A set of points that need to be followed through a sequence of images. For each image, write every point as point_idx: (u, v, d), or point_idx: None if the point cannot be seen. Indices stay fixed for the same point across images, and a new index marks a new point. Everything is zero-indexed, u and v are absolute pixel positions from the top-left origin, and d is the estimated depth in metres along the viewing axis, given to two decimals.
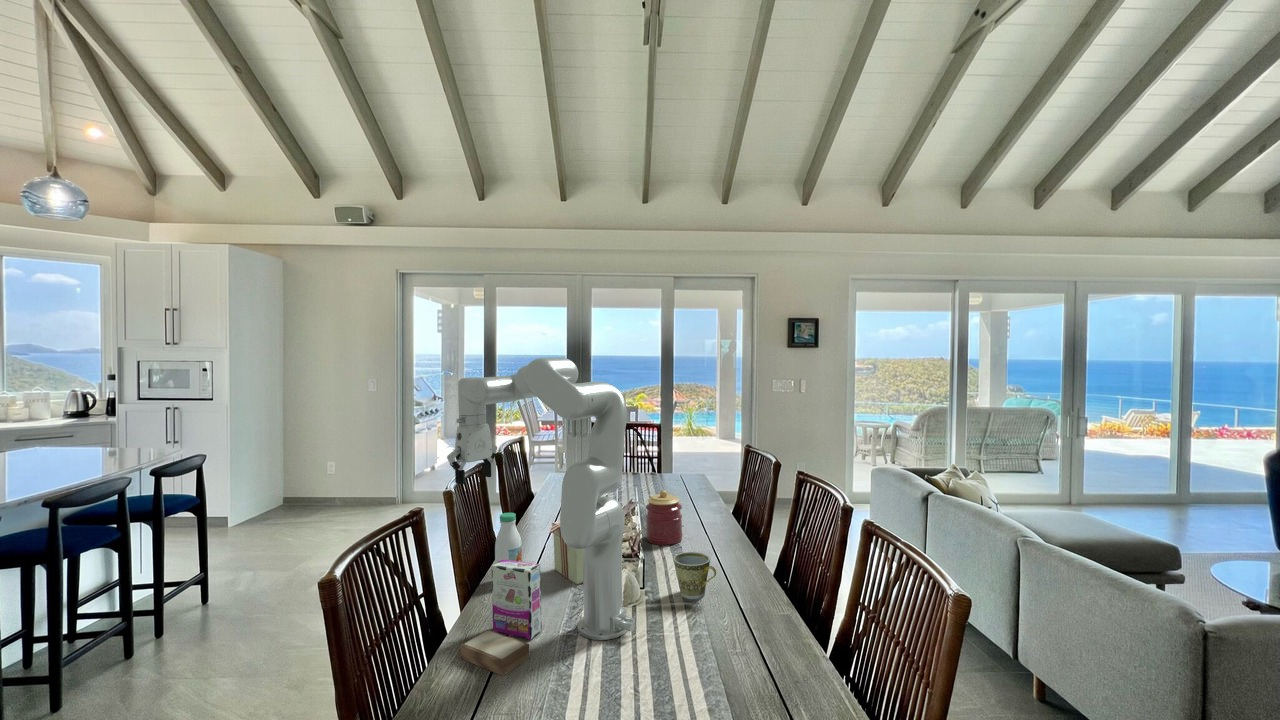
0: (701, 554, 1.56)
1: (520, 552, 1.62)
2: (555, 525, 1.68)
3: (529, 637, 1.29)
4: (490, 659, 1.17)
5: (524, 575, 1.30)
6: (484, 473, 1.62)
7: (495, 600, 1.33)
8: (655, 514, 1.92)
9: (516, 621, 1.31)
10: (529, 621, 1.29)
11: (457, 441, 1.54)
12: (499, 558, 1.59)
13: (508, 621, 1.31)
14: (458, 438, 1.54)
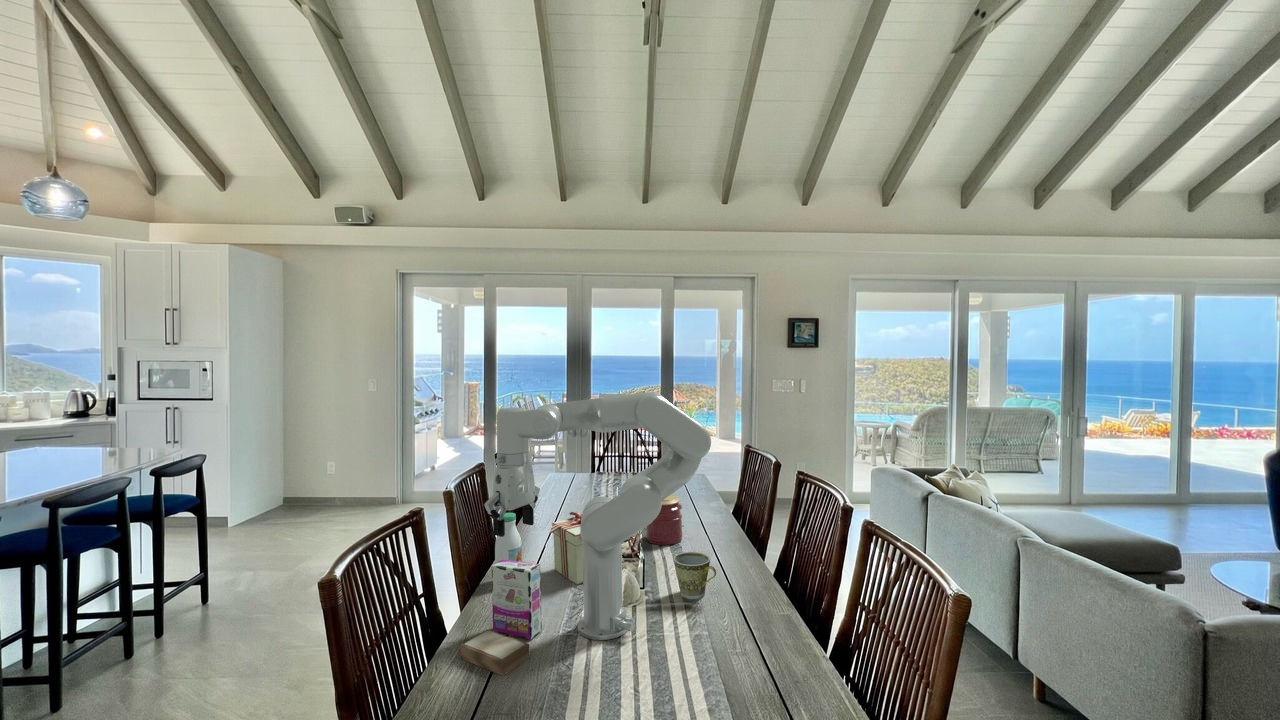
0: (701, 554, 1.56)
1: (520, 552, 1.62)
2: (555, 525, 1.68)
3: (529, 637, 1.29)
4: (490, 659, 1.17)
5: (524, 575, 1.30)
6: (525, 520, 1.37)
7: (495, 600, 1.33)
8: None
9: (516, 621, 1.31)
10: (529, 621, 1.29)
11: (496, 485, 1.29)
12: (499, 558, 1.59)
13: (508, 621, 1.31)
14: (497, 481, 1.30)
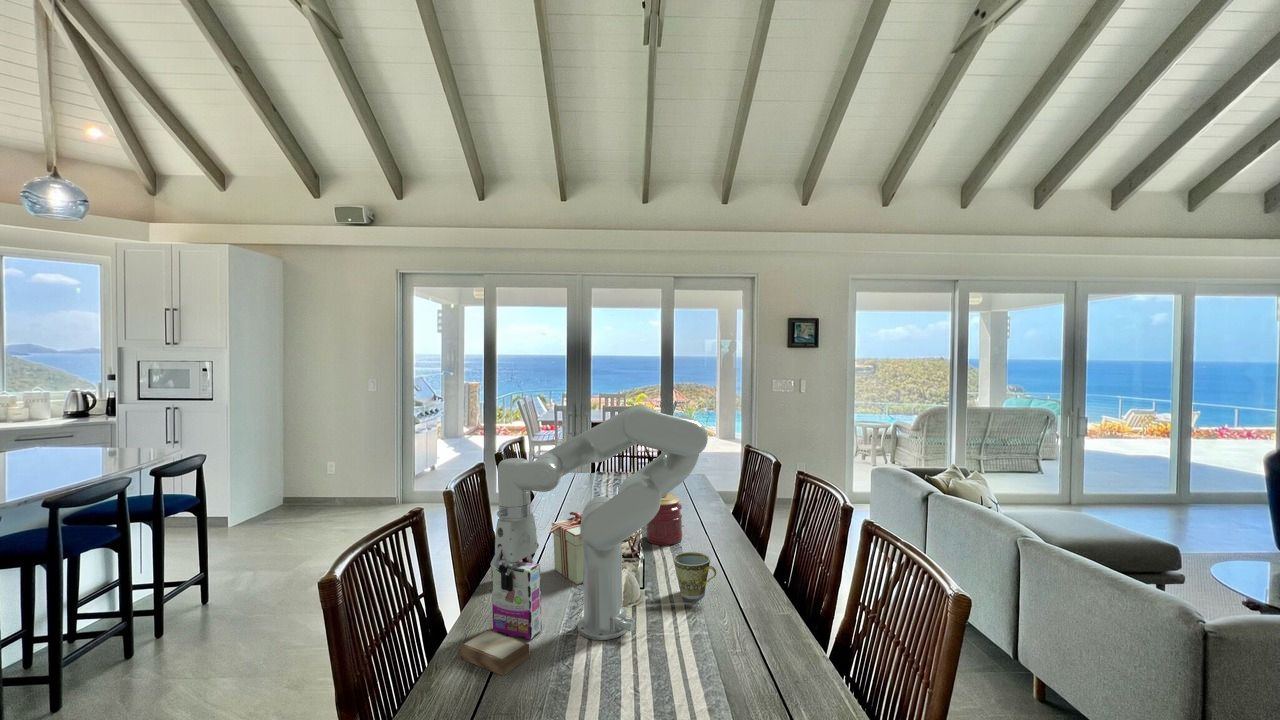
0: (701, 554, 1.56)
1: None
2: (555, 525, 1.68)
3: (529, 637, 1.29)
4: (490, 659, 1.17)
5: (523, 575, 1.30)
6: None
7: (495, 600, 1.33)
8: None
9: (516, 621, 1.31)
10: (529, 621, 1.29)
11: (498, 538, 1.29)
12: None
13: (508, 621, 1.31)
14: (499, 534, 1.30)
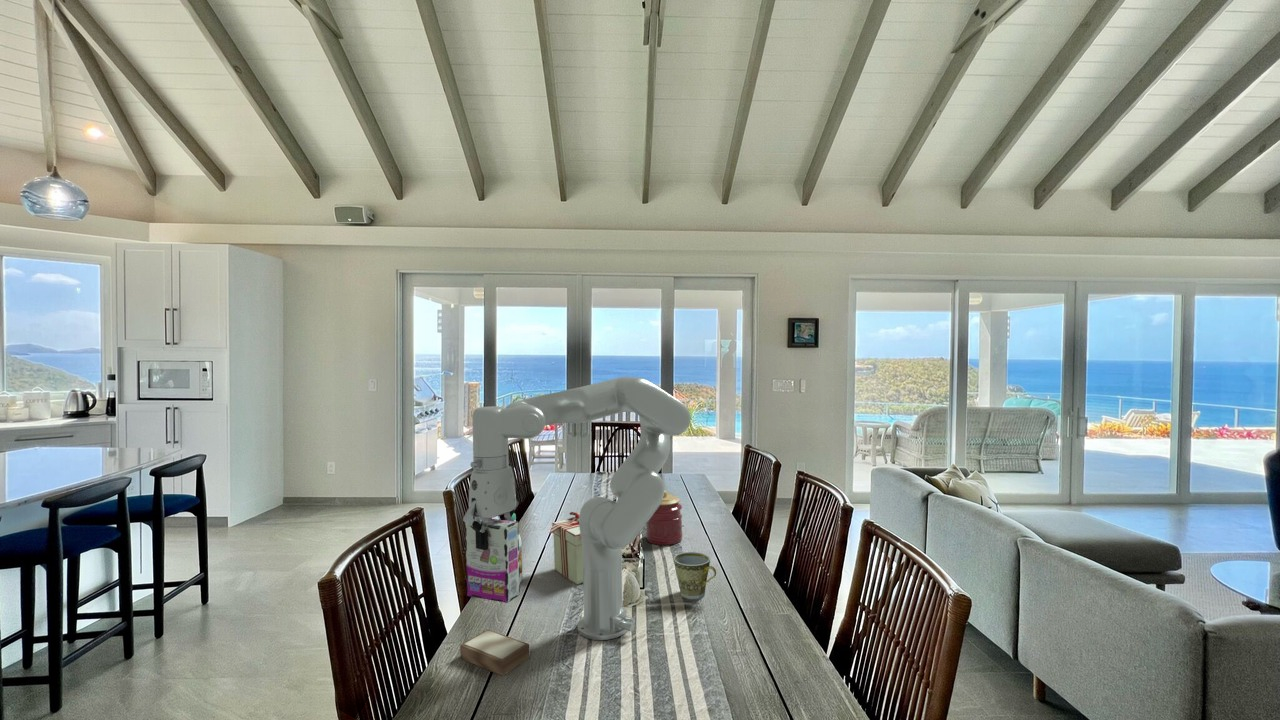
0: (701, 554, 1.56)
1: (520, 552, 1.62)
2: (555, 525, 1.68)
3: (505, 600, 1.18)
4: (490, 659, 1.17)
5: (500, 532, 1.18)
6: None
7: (469, 561, 1.22)
8: (655, 514, 1.92)
9: (491, 583, 1.19)
10: (505, 582, 1.18)
11: (471, 491, 1.18)
12: None
13: (483, 584, 1.20)
14: (473, 487, 1.18)
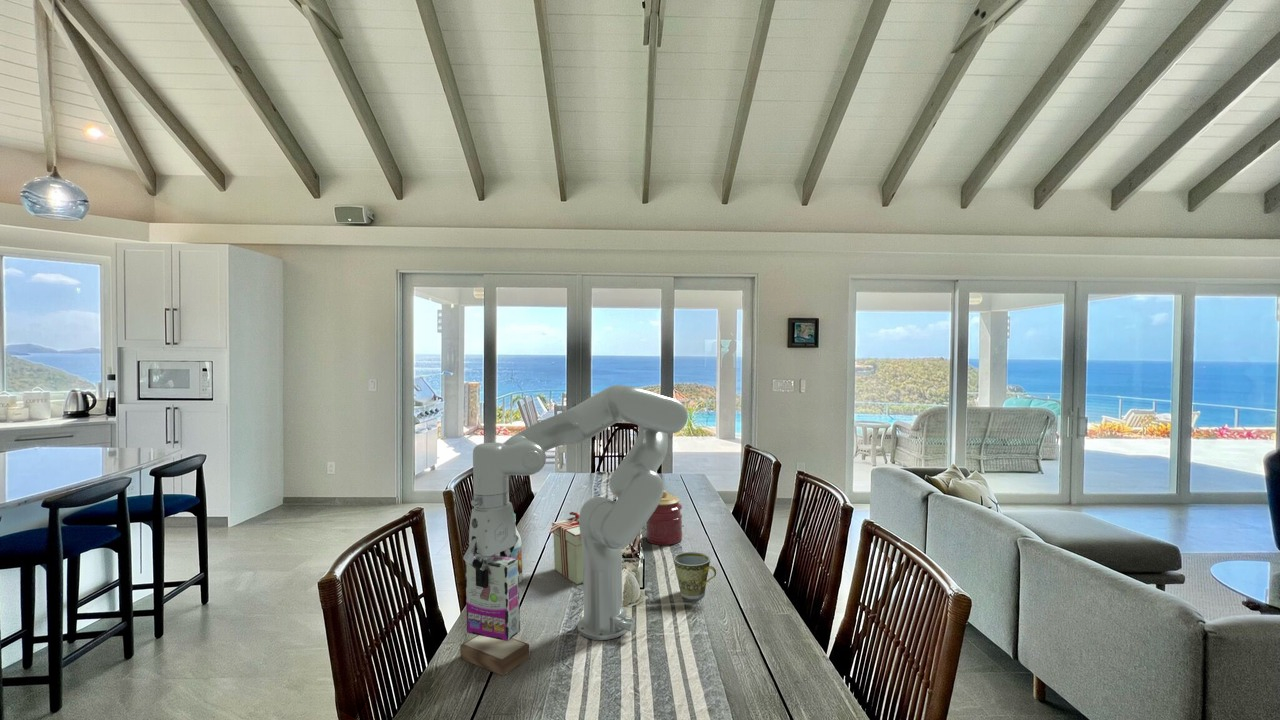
0: (701, 554, 1.56)
1: (520, 552, 1.62)
2: (555, 525, 1.68)
3: (505, 638, 1.18)
4: (490, 659, 1.17)
5: (500, 570, 1.18)
6: None
7: (469, 598, 1.21)
8: (655, 514, 1.92)
9: (491, 620, 1.19)
10: (505, 620, 1.18)
11: (472, 529, 1.18)
12: None
13: (483, 621, 1.20)
14: (473, 525, 1.18)
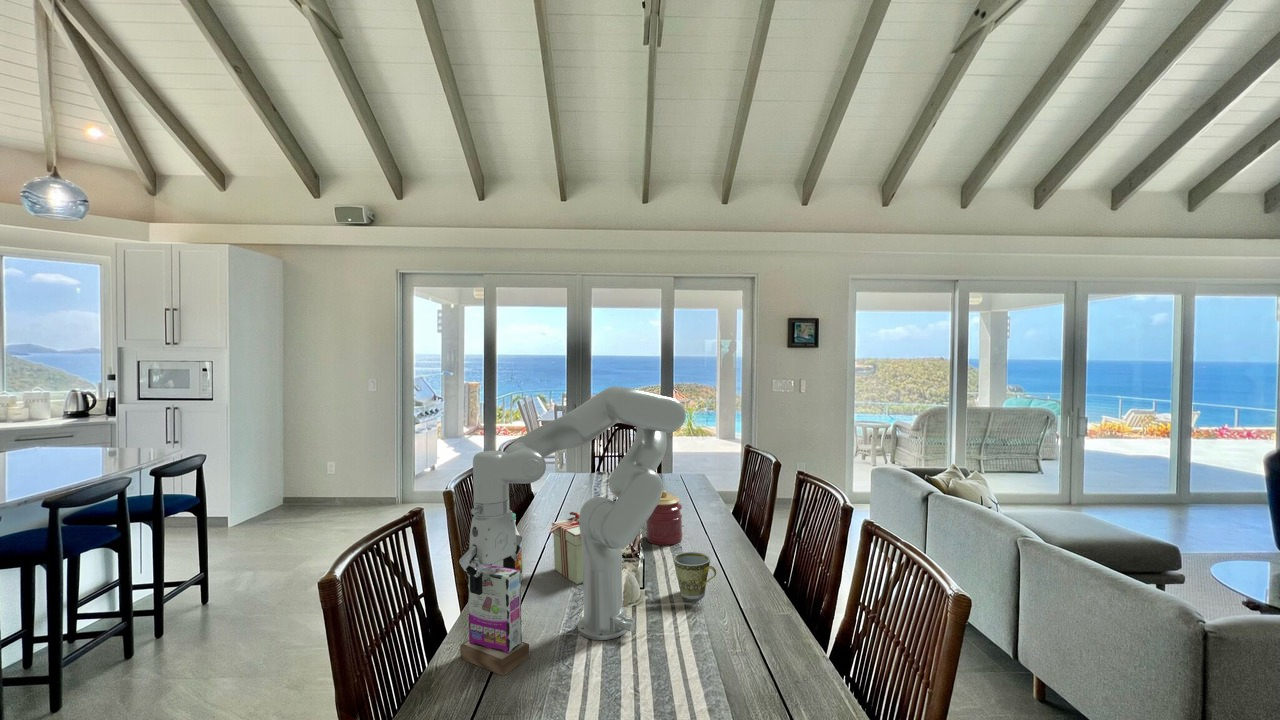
0: (701, 554, 1.56)
1: (520, 552, 1.62)
2: (555, 525, 1.68)
3: (507, 650, 1.18)
4: (490, 659, 1.17)
5: (501, 582, 1.18)
6: None
7: (471, 609, 1.22)
8: (655, 514, 1.92)
9: (493, 632, 1.19)
10: (507, 632, 1.18)
11: (472, 537, 1.18)
12: None
13: (485, 632, 1.20)
14: (473, 533, 1.18)
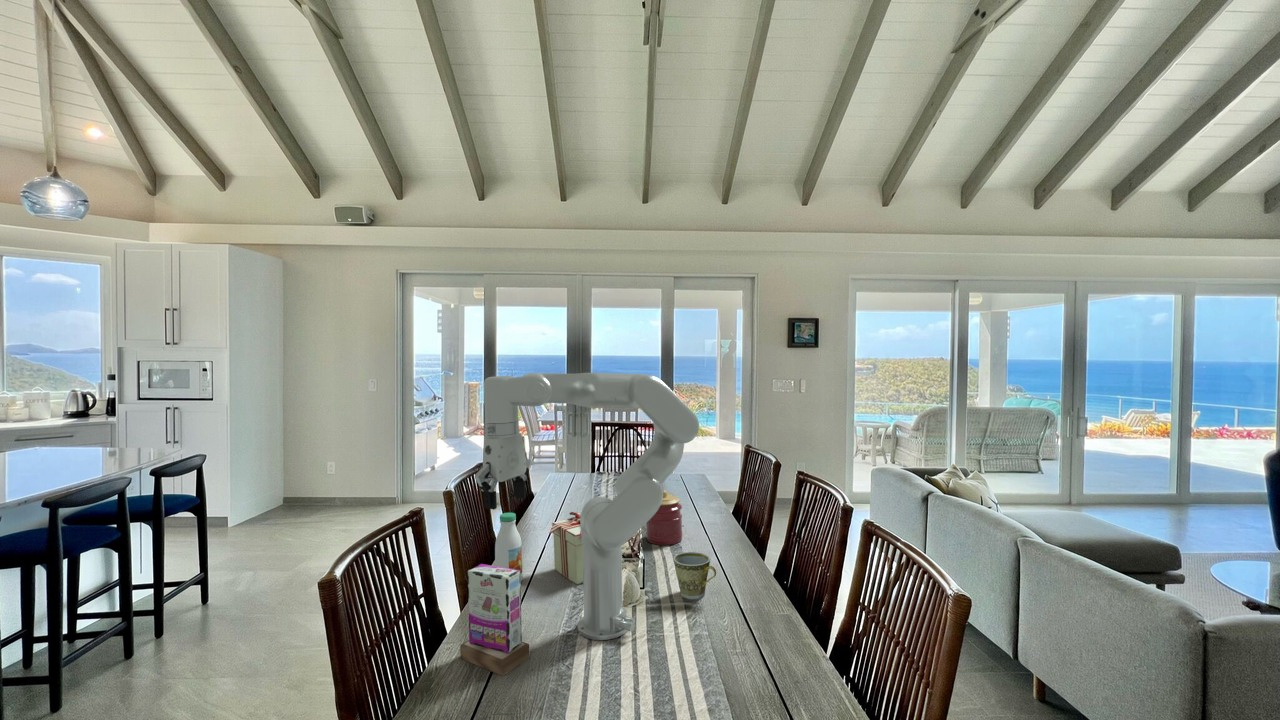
0: (701, 554, 1.56)
1: (520, 552, 1.62)
2: (555, 525, 1.68)
3: (507, 650, 1.18)
4: (490, 659, 1.17)
5: (501, 582, 1.18)
6: (516, 493, 1.32)
7: (471, 609, 1.22)
8: (655, 514, 1.92)
9: (493, 632, 1.19)
10: (507, 632, 1.18)
11: (485, 456, 1.24)
12: (499, 558, 1.59)
13: (485, 632, 1.20)
14: (486, 452, 1.24)
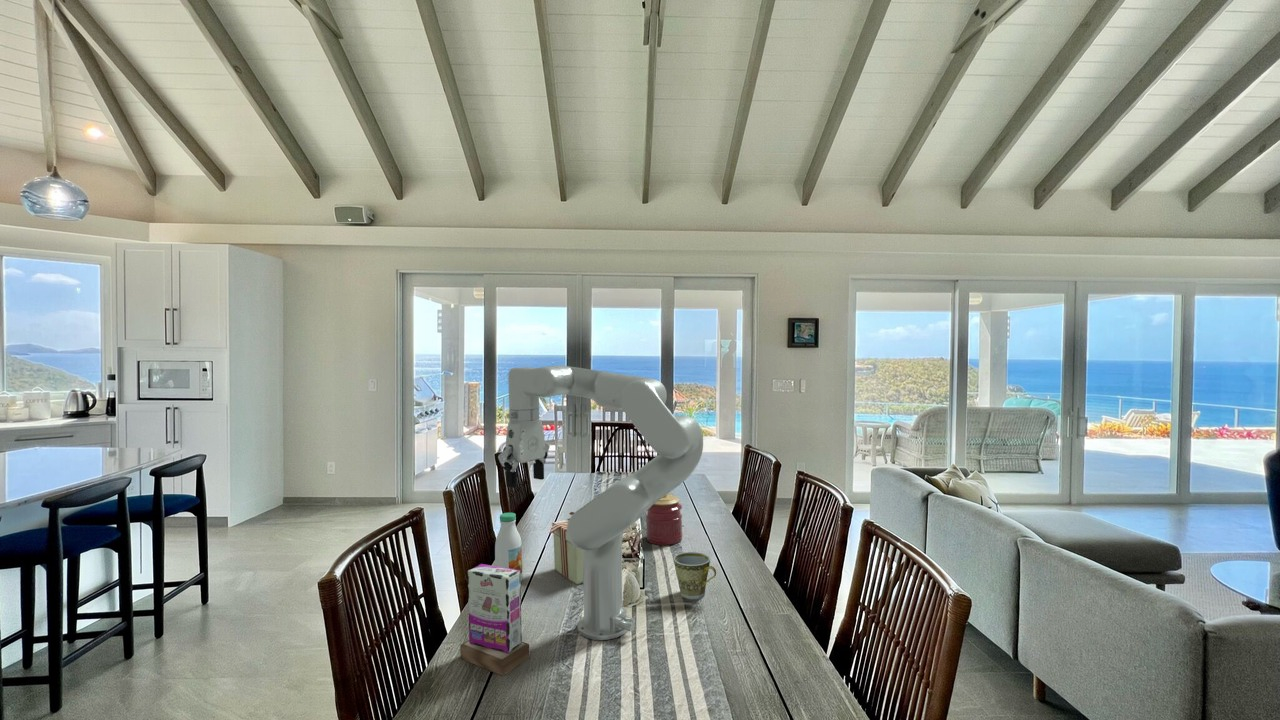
0: (701, 554, 1.56)
1: (520, 552, 1.62)
2: (555, 525, 1.68)
3: (507, 650, 1.18)
4: (490, 659, 1.17)
5: (501, 582, 1.18)
6: (536, 475, 1.45)
7: (471, 609, 1.22)
8: (655, 514, 1.92)
9: (493, 632, 1.19)
10: (507, 632, 1.18)
11: (508, 439, 1.37)
12: (499, 558, 1.59)
13: (485, 632, 1.20)
14: (509, 436, 1.37)
